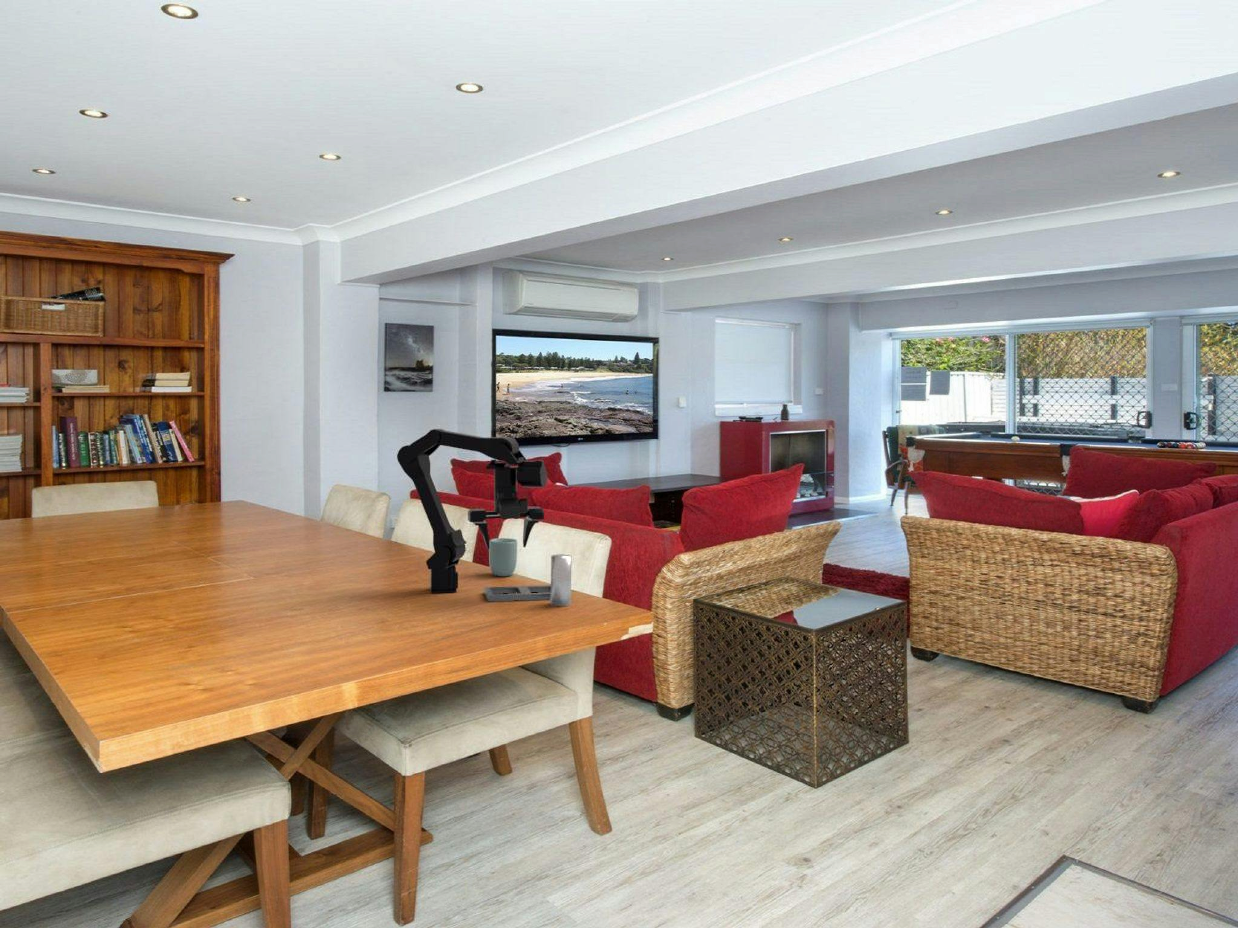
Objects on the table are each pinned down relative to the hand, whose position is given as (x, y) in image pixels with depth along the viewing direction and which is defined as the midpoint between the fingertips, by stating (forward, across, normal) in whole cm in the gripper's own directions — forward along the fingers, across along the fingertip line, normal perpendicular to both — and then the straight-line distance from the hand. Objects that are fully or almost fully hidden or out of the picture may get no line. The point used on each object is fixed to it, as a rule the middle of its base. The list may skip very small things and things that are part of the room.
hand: (506, 548), depth 227 cm
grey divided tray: (+12, +4, -2) cm, 13 cm away
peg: (+13, +11, -12) cm, 21 cm away
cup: (+12, +3, +26) cm, 29 cm away
